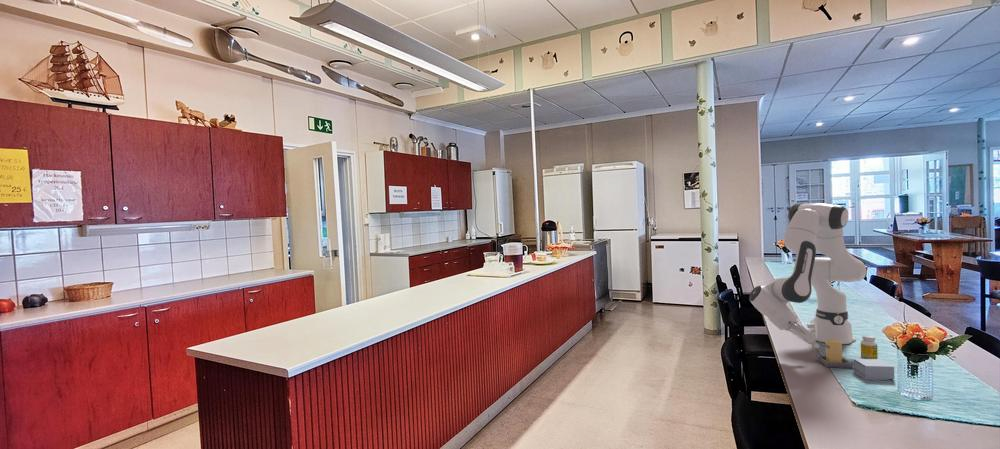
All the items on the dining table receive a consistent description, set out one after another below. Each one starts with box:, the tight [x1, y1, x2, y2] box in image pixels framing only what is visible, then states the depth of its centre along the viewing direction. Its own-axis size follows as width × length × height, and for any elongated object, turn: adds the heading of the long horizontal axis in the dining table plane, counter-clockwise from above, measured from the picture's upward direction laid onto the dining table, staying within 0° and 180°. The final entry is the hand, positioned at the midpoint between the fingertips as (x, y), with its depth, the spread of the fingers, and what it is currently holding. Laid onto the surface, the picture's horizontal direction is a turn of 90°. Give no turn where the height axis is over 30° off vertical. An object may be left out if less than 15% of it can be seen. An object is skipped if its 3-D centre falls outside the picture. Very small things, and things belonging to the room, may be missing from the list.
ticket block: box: [853, 358, 895, 381], centre depth 168 cm, size 8×9×5 cm
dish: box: [816, 355, 853, 369], centre depth 182 cm, size 9×9×2 cm
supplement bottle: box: [860, 334, 879, 359], centre depth 185 cm, size 5×5×10 cm
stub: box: [825, 339, 843, 362], centre depth 182 cm, size 4×4×9 cm
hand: (811, 343), depth 183 cm, fingers open, 8 cm apart
